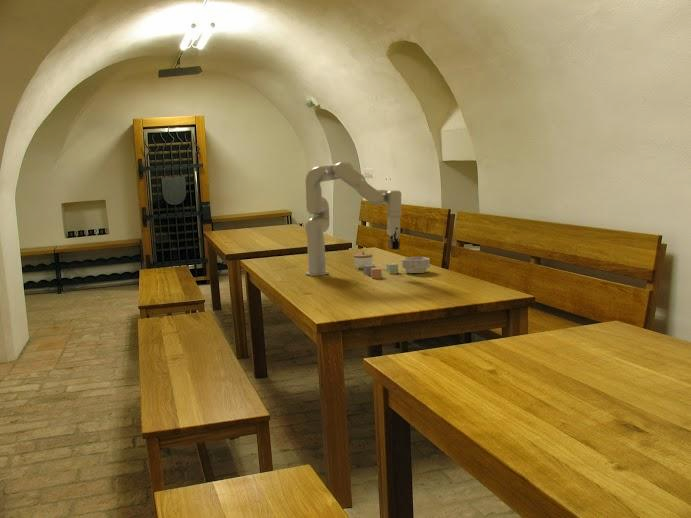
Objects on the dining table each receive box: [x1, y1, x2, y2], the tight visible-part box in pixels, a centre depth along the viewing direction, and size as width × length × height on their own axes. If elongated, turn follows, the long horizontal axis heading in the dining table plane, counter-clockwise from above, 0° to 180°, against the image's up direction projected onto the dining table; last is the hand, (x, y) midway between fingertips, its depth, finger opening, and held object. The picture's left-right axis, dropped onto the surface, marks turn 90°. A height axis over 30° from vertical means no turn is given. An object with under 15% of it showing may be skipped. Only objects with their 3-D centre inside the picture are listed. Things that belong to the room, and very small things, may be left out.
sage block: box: [385, 262, 399, 274], centre depth 390 cm, size 5×5×5 cm
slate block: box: [362, 264, 376, 276], centre depth 387 cm, size 5×5×5 cm
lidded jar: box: [353, 251, 374, 270], centre depth 409 cm, size 11×11×9 cm
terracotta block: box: [370, 267, 383, 279], centre depth 377 cm, size 5×5×5 cm
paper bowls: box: [401, 256, 431, 274], centre depth 388 cm, size 15×15×8 cm
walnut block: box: [387, 238, 401, 251], centre depth 376 cm, size 5×5×5 cm
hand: (394, 247), depth 377 cm, fingers closed on walnut block, 5 cm apart
